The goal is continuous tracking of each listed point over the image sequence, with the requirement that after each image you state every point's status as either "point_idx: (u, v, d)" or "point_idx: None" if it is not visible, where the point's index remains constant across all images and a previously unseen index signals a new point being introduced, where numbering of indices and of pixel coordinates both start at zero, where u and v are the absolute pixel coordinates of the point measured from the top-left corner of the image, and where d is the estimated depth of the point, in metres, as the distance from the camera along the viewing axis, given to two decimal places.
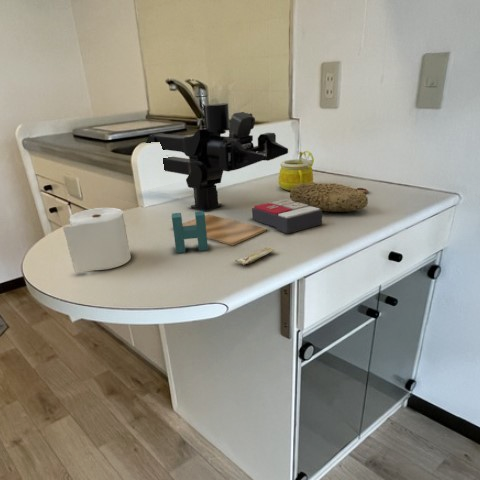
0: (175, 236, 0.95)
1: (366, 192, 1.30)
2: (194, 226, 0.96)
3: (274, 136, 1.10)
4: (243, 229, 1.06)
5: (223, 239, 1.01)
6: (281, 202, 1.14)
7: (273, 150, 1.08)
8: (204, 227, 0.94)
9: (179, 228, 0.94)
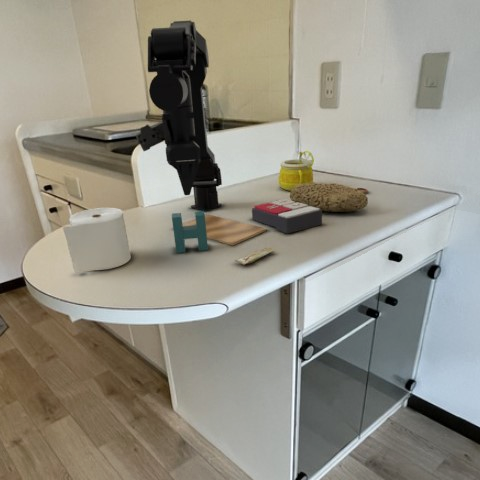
0: (175, 236, 0.95)
1: (366, 192, 1.30)
2: (194, 226, 0.96)
3: None
4: (243, 229, 1.06)
5: (223, 239, 1.01)
6: (281, 202, 1.14)
7: None
8: (204, 227, 0.94)
9: (179, 228, 0.94)
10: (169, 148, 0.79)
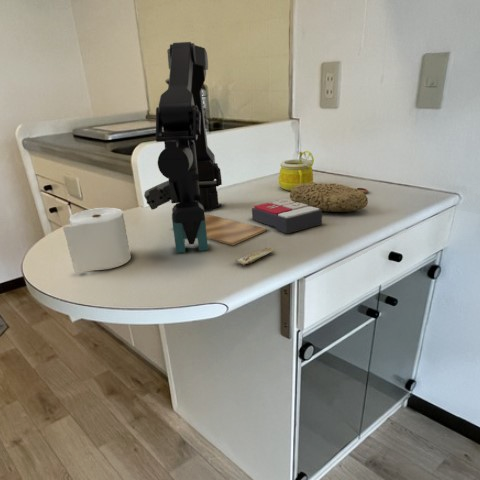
0: (175, 236, 0.95)
1: (366, 192, 1.30)
2: None
3: None
4: (243, 229, 1.06)
5: (223, 239, 1.01)
6: (281, 202, 1.14)
7: None
8: (204, 227, 0.94)
9: (179, 228, 0.94)
10: (176, 211, 0.84)
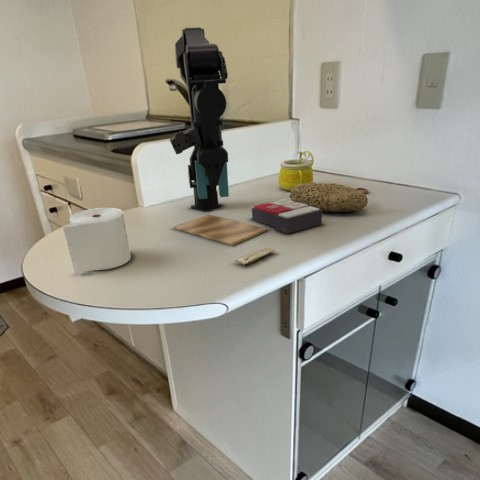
0: (198, 182, 0.99)
1: (366, 192, 1.30)
2: None
3: (200, 164, 0.94)
4: (243, 229, 1.06)
5: (223, 239, 1.01)
6: (281, 202, 1.14)
7: None
8: (226, 173, 0.99)
9: (202, 174, 0.98)
10: (201, 152, 0.89)
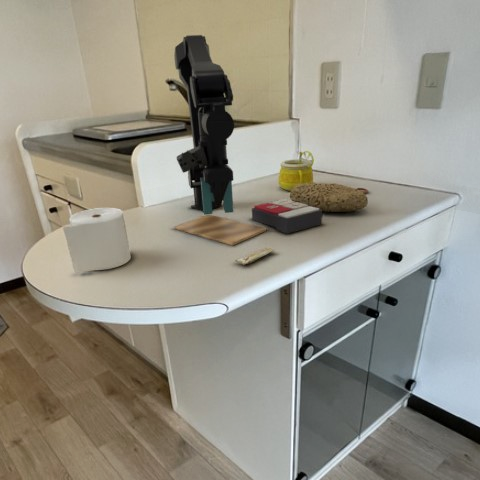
0: (204, 198, 1.03)
1: (366, 192, 1.30)
2: None
3: None
4: (243, 229, 1.06)
5: (223, 239, 1.01)
6: (281, 202, 1.14)
7: None
8: (230, 190, 1.03)
9: (207, 191, 1.02)
10: (207, 171, 0.93)
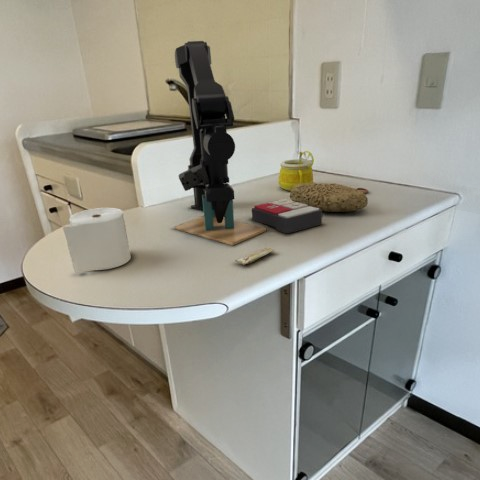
0: (205, 215, 1.05)
1: (366, 192, 1.30)
2: None
3: None
4: (243, 229, 1.06)
5: (223, 239, 1.01)
6: (281, 202, 1.14)
7: None
8: (231, 207, 1.05)
9: (209, 208, 1.04)
10: (209, 191, 0.95)
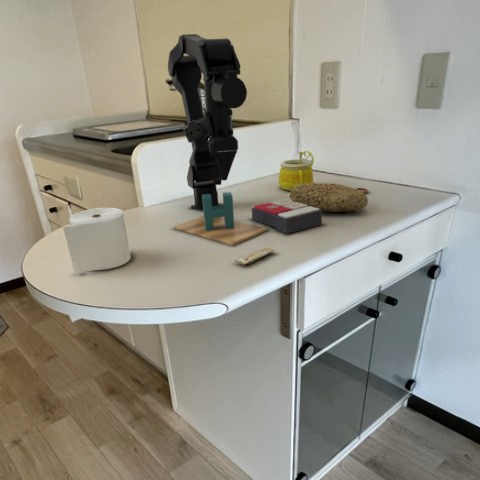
0: (205, 215, 1.05)
1: (366, 192, 1.30)
2: (222, 206, 1.06)
3: (212, 154, 0.97)
4: (243, 229, 1.06)
5: (223, 239, 1.01)
6: (281, 202, 1.14)
7: None
8: (231, 207, 1.05)
9: (209, 208, 1.04)
10: (213, 140, 0.94)
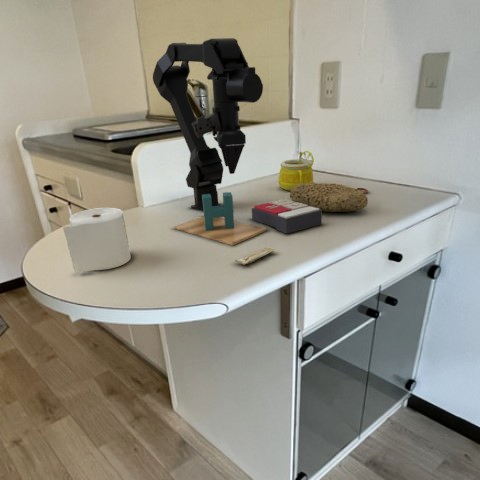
0: (205, 215, 1.05)
1: (366, 192, 1.30)
2: (222, 206, 1.06)
3: (221, 148, 1.01)
4: (243, 229, 1.06)
5: (223, 239, 1.01)
6: (281, 202, 1.14)
7: None
8: (231, 207, 1.05)
9: (209, 208, 1.04)
10: (221, 134, 0.99)
